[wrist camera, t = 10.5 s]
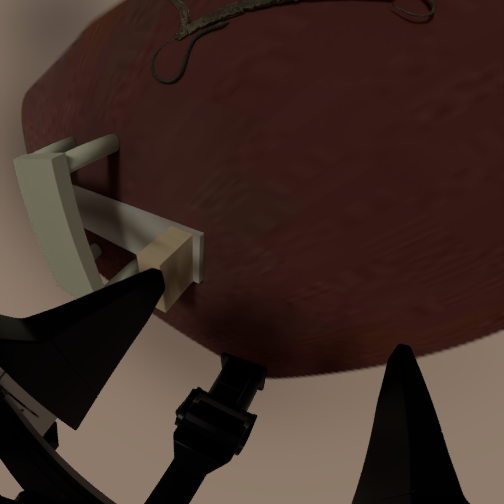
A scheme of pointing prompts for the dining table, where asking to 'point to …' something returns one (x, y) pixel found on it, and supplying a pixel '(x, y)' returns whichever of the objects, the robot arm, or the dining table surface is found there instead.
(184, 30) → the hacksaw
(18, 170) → the miniature white bench
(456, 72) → the dining table surface
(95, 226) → the scraper
